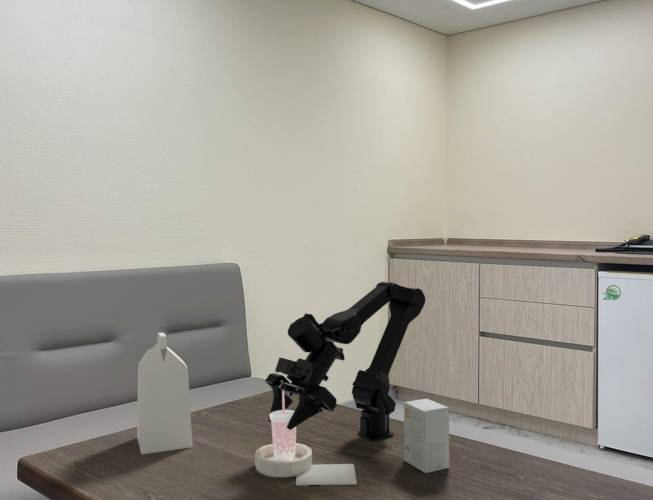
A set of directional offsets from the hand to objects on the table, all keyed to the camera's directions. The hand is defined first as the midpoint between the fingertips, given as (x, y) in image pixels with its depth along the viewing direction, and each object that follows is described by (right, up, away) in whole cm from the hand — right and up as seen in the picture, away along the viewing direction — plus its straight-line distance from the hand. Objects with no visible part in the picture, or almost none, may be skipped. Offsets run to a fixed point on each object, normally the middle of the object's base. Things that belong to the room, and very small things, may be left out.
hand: (278, 425), depth 129 cm
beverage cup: (+1, -7, +1) cm, 7 cm away
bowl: (+1, -9, +1) cm, 9 cm away
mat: (+10, -9, -4) cm, 14 cm away
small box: (+32, -9, +1) cm, 33 cm away
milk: (-29, -9, +17) cm, 35 cm away
